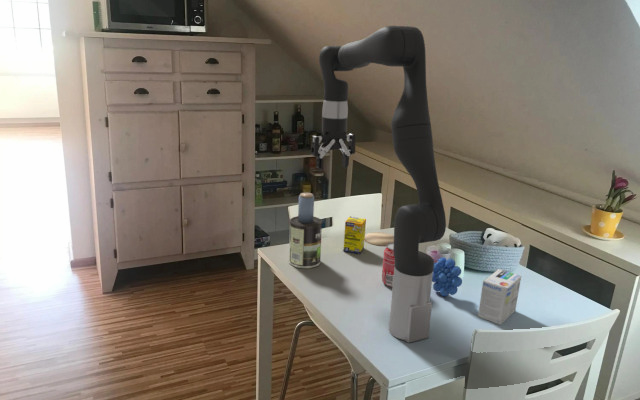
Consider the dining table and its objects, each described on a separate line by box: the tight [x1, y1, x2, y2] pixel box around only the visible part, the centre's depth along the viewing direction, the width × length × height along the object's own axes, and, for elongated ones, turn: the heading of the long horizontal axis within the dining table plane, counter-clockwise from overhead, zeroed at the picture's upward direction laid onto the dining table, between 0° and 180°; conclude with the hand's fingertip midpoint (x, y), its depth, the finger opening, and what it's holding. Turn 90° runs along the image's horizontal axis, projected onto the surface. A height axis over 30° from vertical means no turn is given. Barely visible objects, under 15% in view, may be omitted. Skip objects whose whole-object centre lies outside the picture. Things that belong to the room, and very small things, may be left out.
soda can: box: [381, 243, 395, 288], centre depth 157 cm, size 7×7×12 cm
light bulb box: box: [477, 268, 522, 326], centre depth 142 cm, size 11×7×11 cm, turn 141°
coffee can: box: [288, 215, 323, 269], centre depth 169 cm, size 10×10×14 cm
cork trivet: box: [364, 231, 394, 247], centre depth 193 cm, size 12×12×1 cm
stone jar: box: [297, 192, 315, 223], centre depth 166 cm, size 5×5×9 cm
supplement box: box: [342, 216, 367, 255], centre depth 181 cm, size 6×6×11 cm
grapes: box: [432, 257, 463, 297], centre depth 151 cm, size 12×7×12 cm, turn 32°
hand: (332, 168), depth 163 cm, fingers open, 8 cm apart
